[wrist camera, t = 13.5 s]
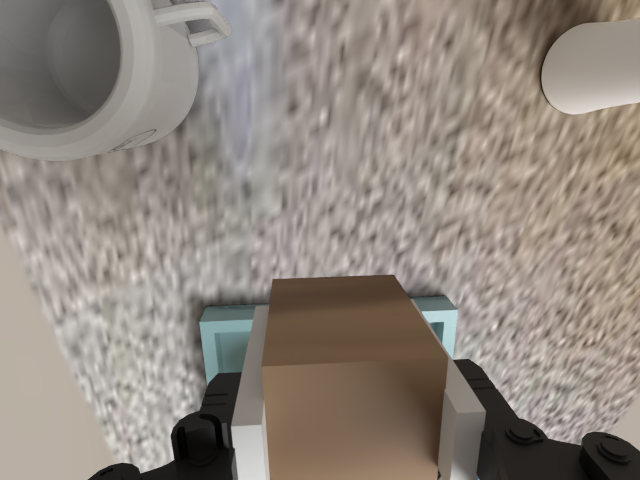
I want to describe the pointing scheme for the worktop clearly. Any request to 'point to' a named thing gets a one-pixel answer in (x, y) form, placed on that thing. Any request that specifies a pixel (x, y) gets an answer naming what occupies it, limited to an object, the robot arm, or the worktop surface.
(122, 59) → the mug
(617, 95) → the cosmetic bottle
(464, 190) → the worktop surface
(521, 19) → the worktop surface
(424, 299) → the tray
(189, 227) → the worktop surface
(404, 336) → the walnut block
